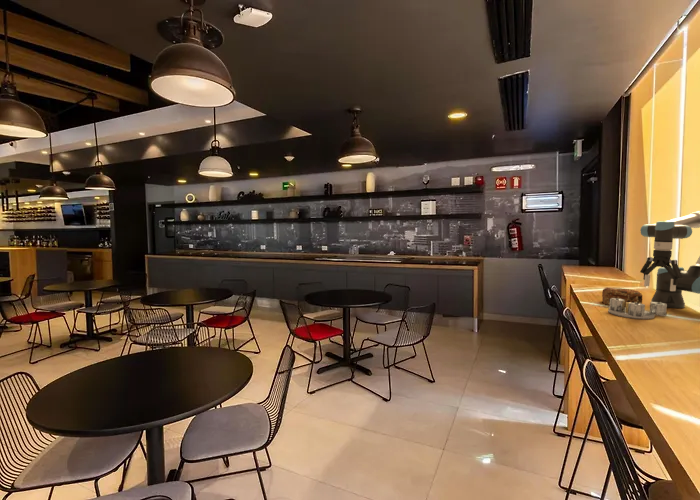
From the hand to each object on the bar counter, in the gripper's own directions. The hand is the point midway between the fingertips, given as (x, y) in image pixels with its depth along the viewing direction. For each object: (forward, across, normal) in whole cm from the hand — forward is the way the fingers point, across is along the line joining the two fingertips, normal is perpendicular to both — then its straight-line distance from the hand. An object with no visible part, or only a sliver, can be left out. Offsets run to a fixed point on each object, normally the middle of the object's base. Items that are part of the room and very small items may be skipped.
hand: (659, 288), depth 195 cm
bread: (+15, -22, +1) cm, 26 cm away
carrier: (+14, -3, -14) cm, 20 cm away
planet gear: (+14, 0, 0) cm, 14 cm away
